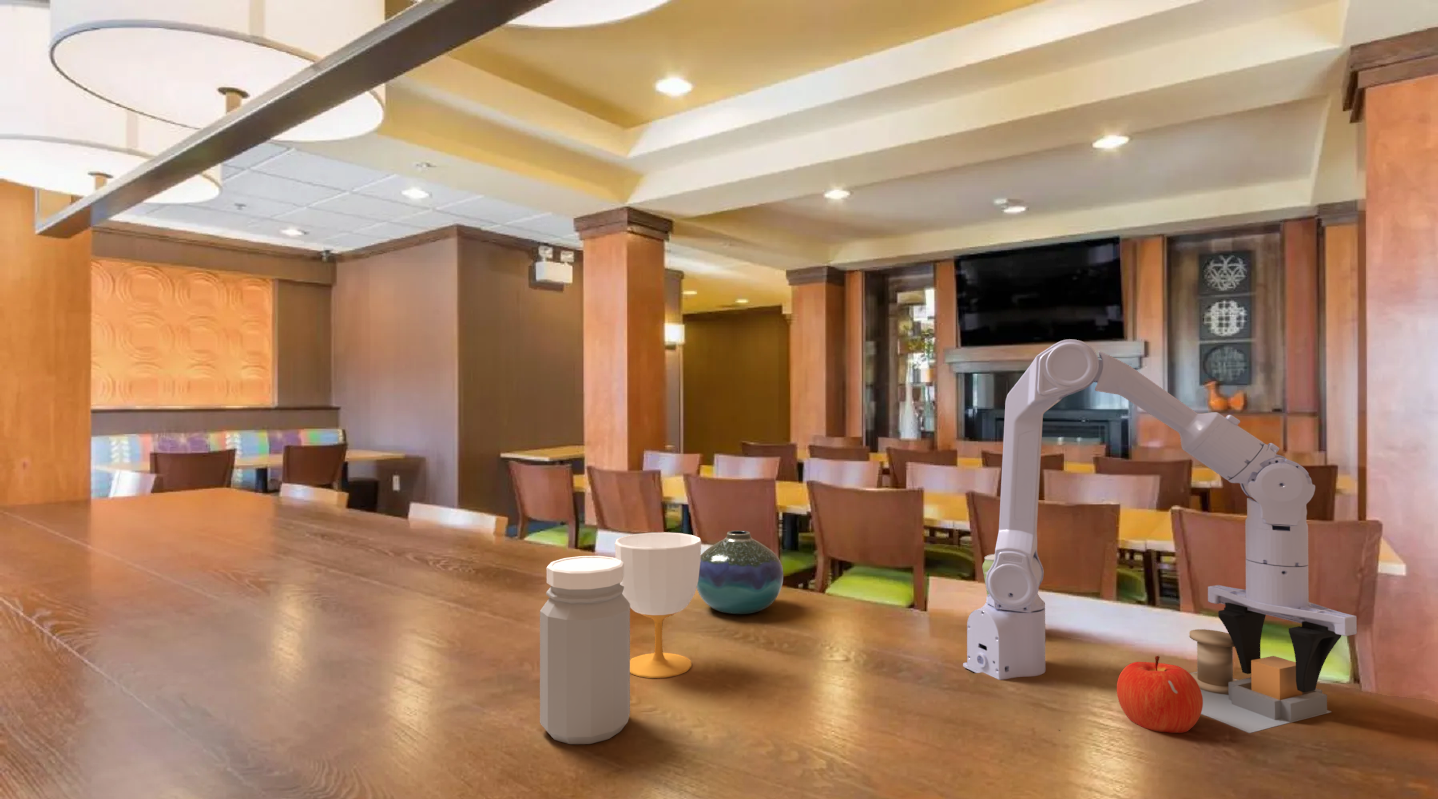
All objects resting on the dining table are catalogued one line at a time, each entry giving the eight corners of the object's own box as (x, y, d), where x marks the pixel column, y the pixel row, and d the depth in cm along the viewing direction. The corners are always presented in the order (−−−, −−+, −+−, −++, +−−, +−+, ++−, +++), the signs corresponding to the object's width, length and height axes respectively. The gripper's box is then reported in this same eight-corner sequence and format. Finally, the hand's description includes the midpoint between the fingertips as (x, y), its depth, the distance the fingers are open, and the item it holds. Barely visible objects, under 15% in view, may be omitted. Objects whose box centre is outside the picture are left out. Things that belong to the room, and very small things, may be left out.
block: (1279, 714, 81) (1279, 669, 81) (1251, 703, 84) (1251, 660, 84) (1302, 708, 83) (1302, 664, 83) (1273, 698, 86) (1273, 655, 86)
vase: (728, 593, 137) (727, 522, 137) (799, 606, 128) (799, 530, 128) (676, 612, 124) (675, 534, 125) (751, 628, 115) (751, 544, 116)
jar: (642, 713, 84) (642, 556, 84) (611, 752, 74) (611, 575, 74) (563, 705, 86) (563, 552, 86) (523, 743, 76) (523, 570, 77)
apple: (1217, 749, 75) (1217, 670, 75) (1132, 742, 76) (1132, 665, 76) (1182, 716, 83) (1182, 645, 83) (1105, 711, 84) (1105, 641, 84)
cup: (648, 646, 107) (648, 529, 107) (717, 660, 101) (717, 536, 101) (596, 672, 97) (596, 543, 97) (670, 689, 91) (670, 551, 91)
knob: (1222, 697, 86) (1222, 645, 86) (1177, 680, 91) (1177, 631, 91) (1253, 690, 88) (1253, 639, 88) (1207, 674, 93) (1207, 626, 93)
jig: (1249, 740, 77) (1249, 713, 77) (1130, 691, 90) (1130, 669, 90) (1332, 718, 82) (1332, 693, 82) (1208, 675, 95) (1208, 654, 95)
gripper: (1373, 571, 78) (1374, 698, 78) (1234, 547, 92) (1235, 655, 92) (1333, 577, 76) (1334, 709, 76) (1195, 551, 89) (1196, 663, 89)
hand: (1277, 680), depth 83 cm, fingers open, 5 cm apart
